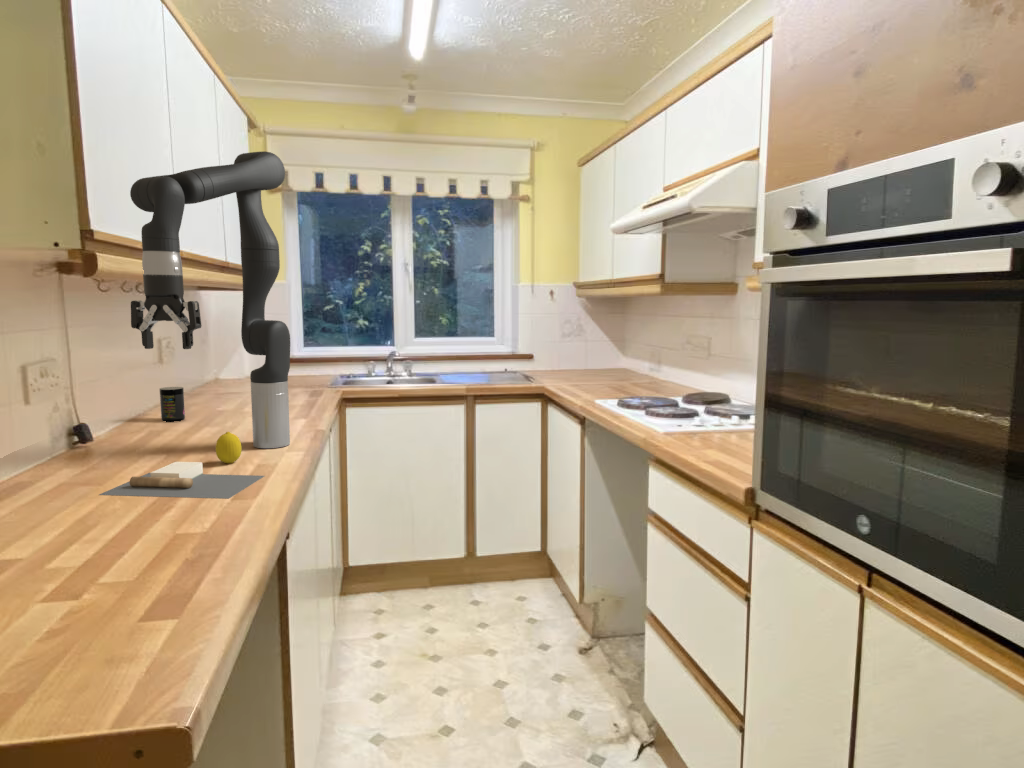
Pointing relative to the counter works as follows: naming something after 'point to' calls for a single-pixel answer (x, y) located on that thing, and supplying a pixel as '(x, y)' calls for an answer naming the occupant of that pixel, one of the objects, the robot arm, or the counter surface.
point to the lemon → (228, 448)
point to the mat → (200, 489)
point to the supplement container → (172, 404)
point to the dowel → (161, 482)
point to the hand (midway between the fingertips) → (168, 348)
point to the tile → (180, 470)
